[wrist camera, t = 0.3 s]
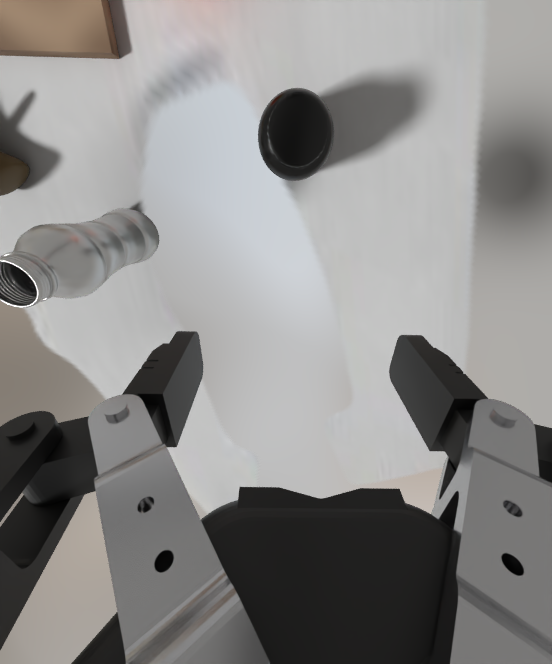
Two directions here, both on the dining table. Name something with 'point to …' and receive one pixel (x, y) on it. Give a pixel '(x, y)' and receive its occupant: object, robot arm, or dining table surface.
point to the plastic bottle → (74, 257)
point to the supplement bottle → (295, 134)
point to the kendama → (11, 173)
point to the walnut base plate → (57, 29)
